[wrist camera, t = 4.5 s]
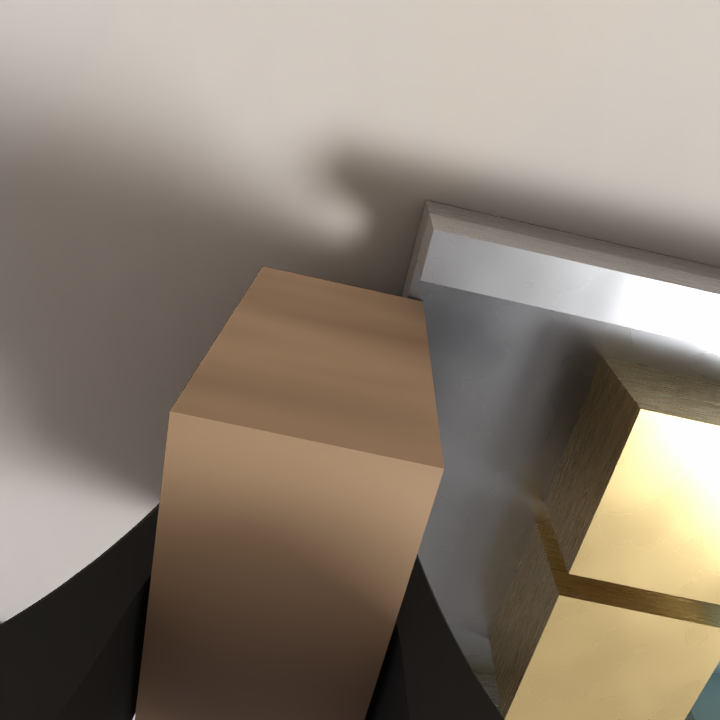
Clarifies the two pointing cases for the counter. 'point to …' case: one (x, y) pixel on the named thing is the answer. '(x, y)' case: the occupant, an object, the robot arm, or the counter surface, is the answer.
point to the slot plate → (529, 381)
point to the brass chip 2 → (597, 645)
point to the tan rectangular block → (291, 506)
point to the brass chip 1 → (643, 483)
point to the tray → (708, 700)
